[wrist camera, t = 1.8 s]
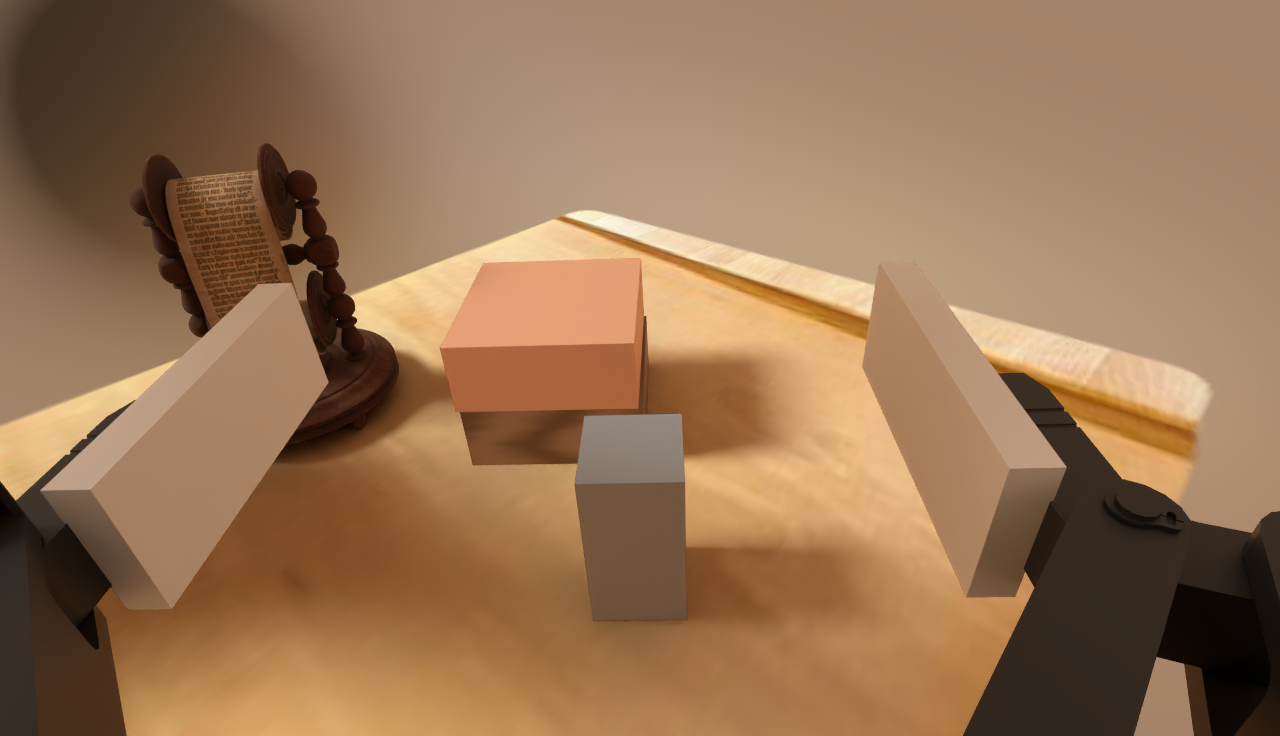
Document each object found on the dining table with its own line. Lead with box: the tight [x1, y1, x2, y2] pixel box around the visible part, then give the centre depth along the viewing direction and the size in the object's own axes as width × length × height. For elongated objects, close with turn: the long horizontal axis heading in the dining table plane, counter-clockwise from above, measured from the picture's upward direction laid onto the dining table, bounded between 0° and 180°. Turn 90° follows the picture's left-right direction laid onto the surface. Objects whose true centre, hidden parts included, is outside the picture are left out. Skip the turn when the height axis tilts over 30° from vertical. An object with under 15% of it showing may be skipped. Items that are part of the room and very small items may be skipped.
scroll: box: [129, 143, 399, 445], centre depth 49 cm, size 15×15×20 cm
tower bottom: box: [460, 316, 649, 465], centre depth 51 cm, size 12×12×5 cm
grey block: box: [575, 414, 687, 621], centre depth 36 cm, size 5×5×10 cm
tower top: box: [440, 258, 644, 412], centre depth 48 cm, size 12×12×5 cm
